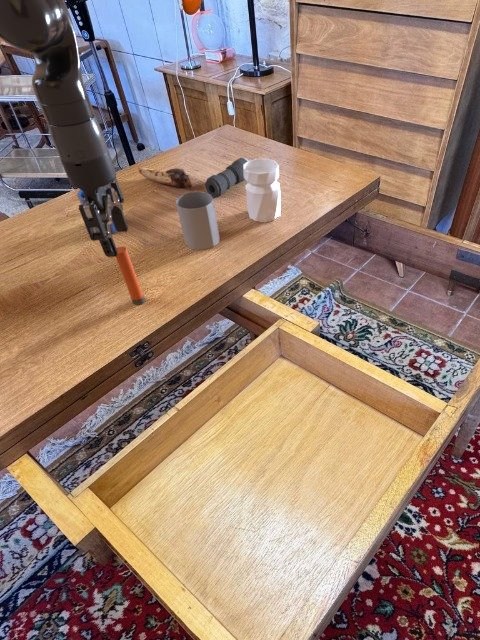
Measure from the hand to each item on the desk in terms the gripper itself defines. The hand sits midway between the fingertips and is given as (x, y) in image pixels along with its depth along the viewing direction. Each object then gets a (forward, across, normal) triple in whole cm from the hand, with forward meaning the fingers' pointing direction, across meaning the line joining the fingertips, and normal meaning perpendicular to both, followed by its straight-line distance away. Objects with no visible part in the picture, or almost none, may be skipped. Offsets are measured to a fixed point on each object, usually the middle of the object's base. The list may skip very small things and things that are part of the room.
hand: (117, 242), depth 82 cm
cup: (+14, -23, +11) cm, 29 cm away
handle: (+14, 0, 0) cm, 14 cm away
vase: (+14, -35, +26) cm, 46 cm away
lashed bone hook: (+14, -56, -2) cm, 58 cm away
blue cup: (+13, -31, -14) cm, 37 cm away
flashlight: (+14, -51, +16) cm, 55 cm away
